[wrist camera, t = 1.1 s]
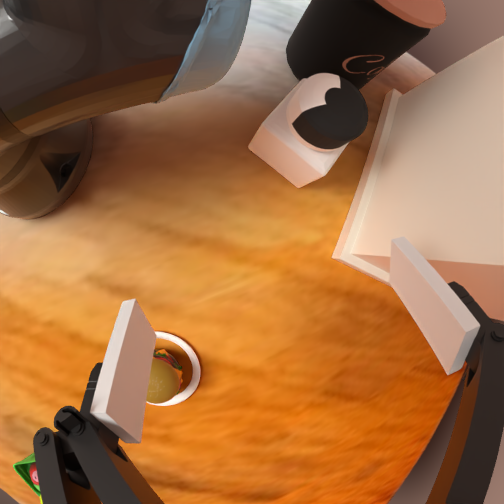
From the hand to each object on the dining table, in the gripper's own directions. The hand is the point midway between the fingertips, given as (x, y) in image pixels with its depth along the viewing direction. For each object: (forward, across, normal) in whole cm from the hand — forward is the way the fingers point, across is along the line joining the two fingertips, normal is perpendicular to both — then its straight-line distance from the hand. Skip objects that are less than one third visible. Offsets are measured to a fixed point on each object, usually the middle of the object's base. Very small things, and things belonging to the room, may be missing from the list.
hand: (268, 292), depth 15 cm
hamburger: (+9, -14, -15) cm, 22 cm away
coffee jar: (+28, +13, +10) cm, 32 cm away
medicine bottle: (+22, +6, +1) cm, 22 cm away
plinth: (+20, +23, -9) cm, 32 cm away
